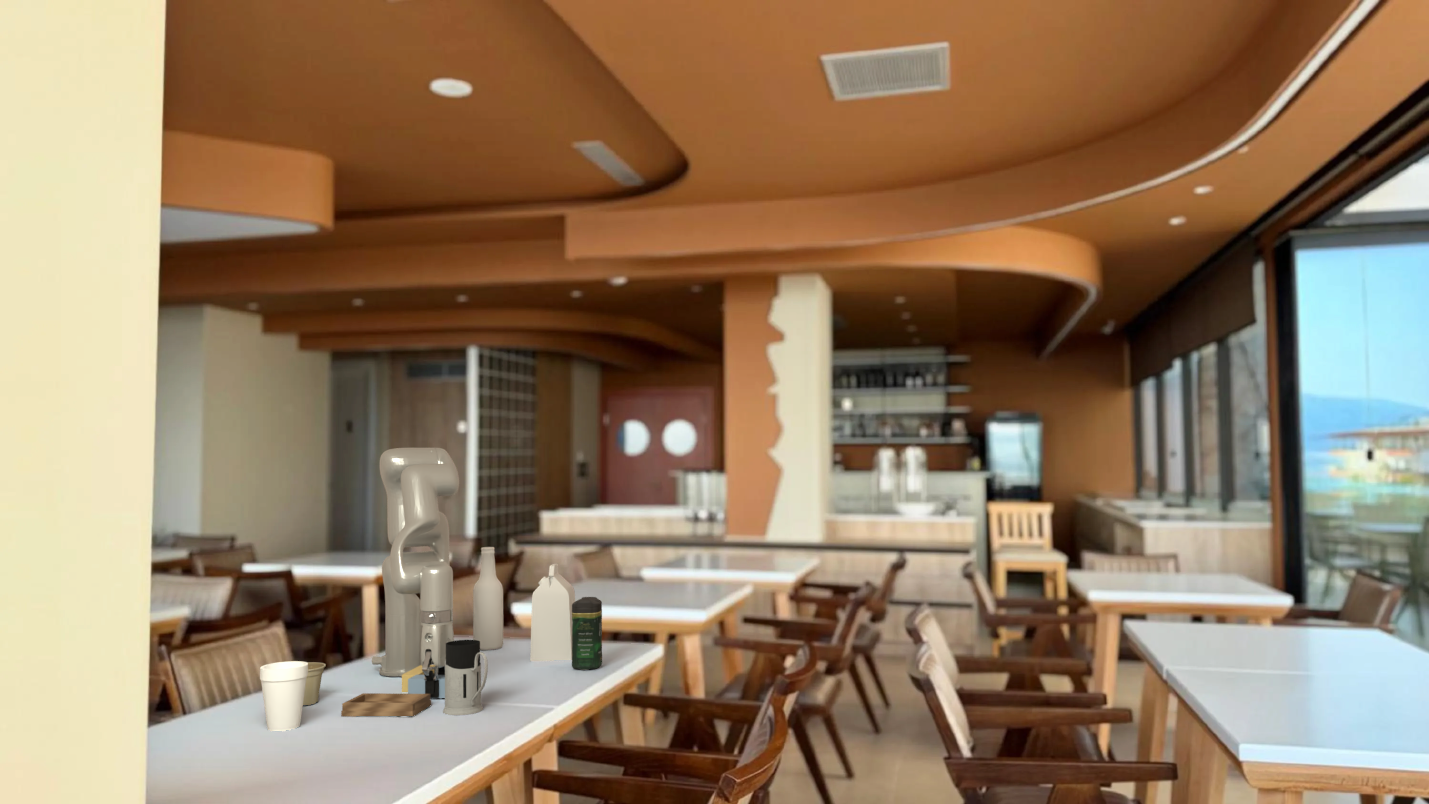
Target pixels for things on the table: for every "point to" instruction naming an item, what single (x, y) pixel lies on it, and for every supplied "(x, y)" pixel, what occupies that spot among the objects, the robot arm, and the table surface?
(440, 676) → the pale grey-blue block
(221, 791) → the table surface
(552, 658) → the milk
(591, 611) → the coffee jar
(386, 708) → the cradle
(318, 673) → the flower pot
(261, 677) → the foam cup
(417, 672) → the mustard wooden brick
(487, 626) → the alcohol
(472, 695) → the glass holder
